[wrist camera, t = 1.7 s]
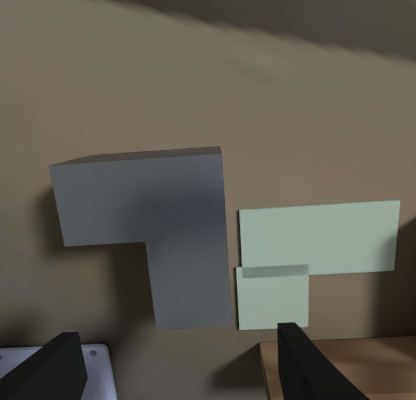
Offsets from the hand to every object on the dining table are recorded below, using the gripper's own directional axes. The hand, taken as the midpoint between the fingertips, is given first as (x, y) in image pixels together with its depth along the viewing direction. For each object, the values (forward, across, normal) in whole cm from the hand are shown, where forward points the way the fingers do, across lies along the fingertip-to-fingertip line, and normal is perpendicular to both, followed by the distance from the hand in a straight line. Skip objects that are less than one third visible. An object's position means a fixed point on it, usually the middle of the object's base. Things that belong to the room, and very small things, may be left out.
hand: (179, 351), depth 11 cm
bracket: (+10, +2, -2) cm, 10 cm away
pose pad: (+9, -8, +2) cm, 12 cm away
